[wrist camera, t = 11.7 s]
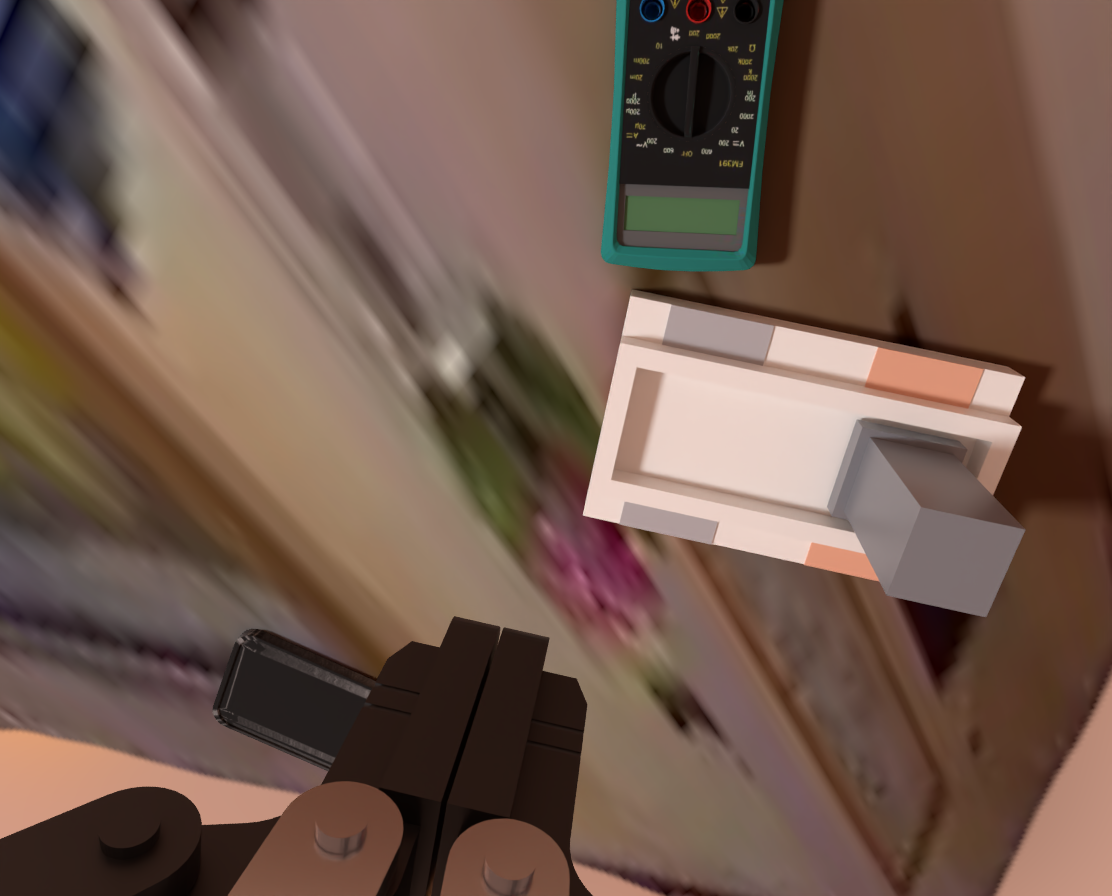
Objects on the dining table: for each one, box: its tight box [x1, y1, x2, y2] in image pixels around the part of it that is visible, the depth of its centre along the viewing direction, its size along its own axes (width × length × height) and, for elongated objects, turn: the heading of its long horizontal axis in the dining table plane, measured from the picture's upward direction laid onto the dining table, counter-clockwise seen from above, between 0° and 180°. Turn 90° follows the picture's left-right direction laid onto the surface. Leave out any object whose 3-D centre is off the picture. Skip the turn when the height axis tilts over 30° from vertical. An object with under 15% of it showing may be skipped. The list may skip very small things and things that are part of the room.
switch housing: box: [583, 289, 1025, 581], centre depth 41 cm, size 12×19×4 cm, turn 80°
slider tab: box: [827, 419, 1025, 617], centre depth 36 cm, size 5×5×9 cm
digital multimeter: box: [601, 0, 784, 271], centre depth 37 cm, size 7×15×3 cm, turn 178°
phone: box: [213, 629, 376, 771], centre depth 53 cm, size 8×1×15 cm
